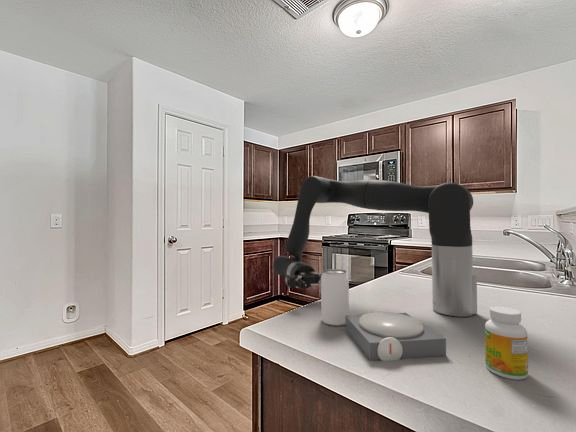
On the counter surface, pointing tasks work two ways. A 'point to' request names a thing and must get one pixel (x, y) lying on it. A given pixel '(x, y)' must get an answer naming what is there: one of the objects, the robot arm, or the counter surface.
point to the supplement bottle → (506, 344)
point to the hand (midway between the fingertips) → (319, 285)
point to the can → (334, 297)
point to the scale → (394, 336)
